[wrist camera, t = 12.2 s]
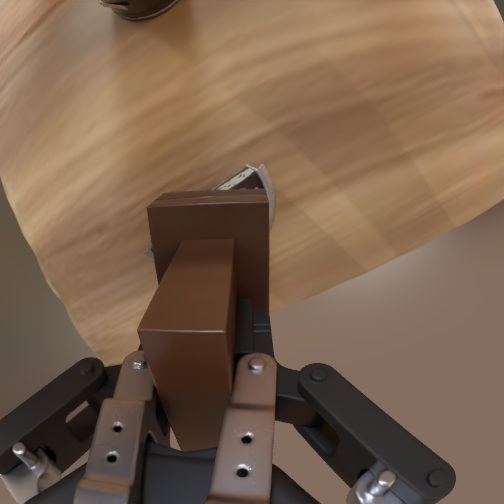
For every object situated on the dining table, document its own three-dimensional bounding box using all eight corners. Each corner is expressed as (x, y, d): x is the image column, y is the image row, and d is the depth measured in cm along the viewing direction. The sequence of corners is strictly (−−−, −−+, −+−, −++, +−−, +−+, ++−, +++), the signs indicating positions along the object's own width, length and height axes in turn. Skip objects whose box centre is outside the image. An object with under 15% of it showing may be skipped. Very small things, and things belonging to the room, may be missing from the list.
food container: (201, 262, 35) (186, 309, 25) (168, 221, 33) (139, 256, 23) (291, 202, 32) (308, 232, 23) (259, 156, 30) (263, 166, 21)
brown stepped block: (163, 192, 14) (71, 274, 6) (265, 188, 14) (290, 271, 6) (186, 349, 18) (161, 470, 10) (265, 349, 18) (274, 474, 10)
